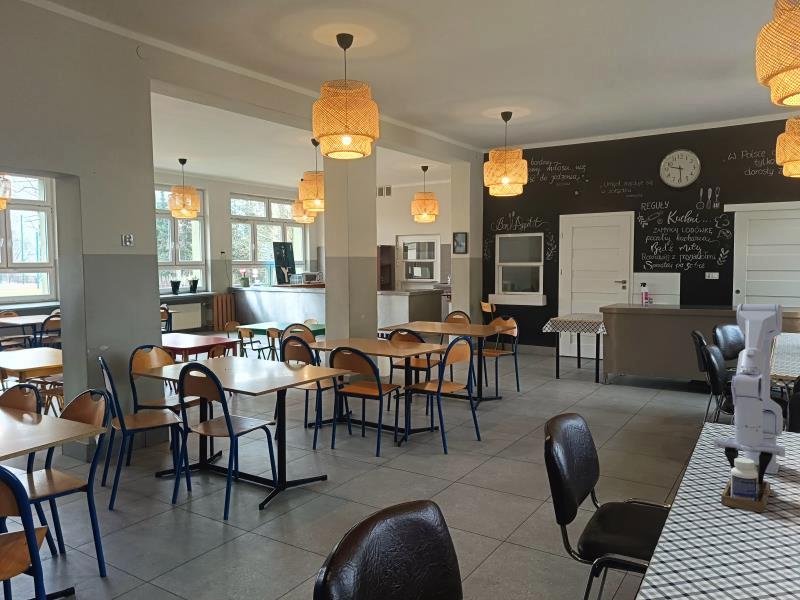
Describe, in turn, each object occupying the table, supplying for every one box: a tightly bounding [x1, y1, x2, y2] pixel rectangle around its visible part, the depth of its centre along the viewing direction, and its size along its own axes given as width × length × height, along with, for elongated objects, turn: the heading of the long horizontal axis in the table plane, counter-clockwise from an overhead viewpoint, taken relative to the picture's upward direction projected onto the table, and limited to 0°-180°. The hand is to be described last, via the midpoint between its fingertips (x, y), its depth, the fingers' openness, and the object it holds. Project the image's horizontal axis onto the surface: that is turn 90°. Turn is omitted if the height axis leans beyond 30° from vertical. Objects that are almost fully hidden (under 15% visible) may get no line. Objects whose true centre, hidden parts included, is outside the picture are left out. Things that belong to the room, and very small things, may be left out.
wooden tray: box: [720, 477, 771, 513], centre depth 136 cm, size 16×8×2 cm, turn 143°
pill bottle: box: [730, 457, 759, 502], centre depth 133 cm, size 5×5×10 cm
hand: (748, 481), depth 139 cm, fingers closed on salt shaker, 4 cm apart
